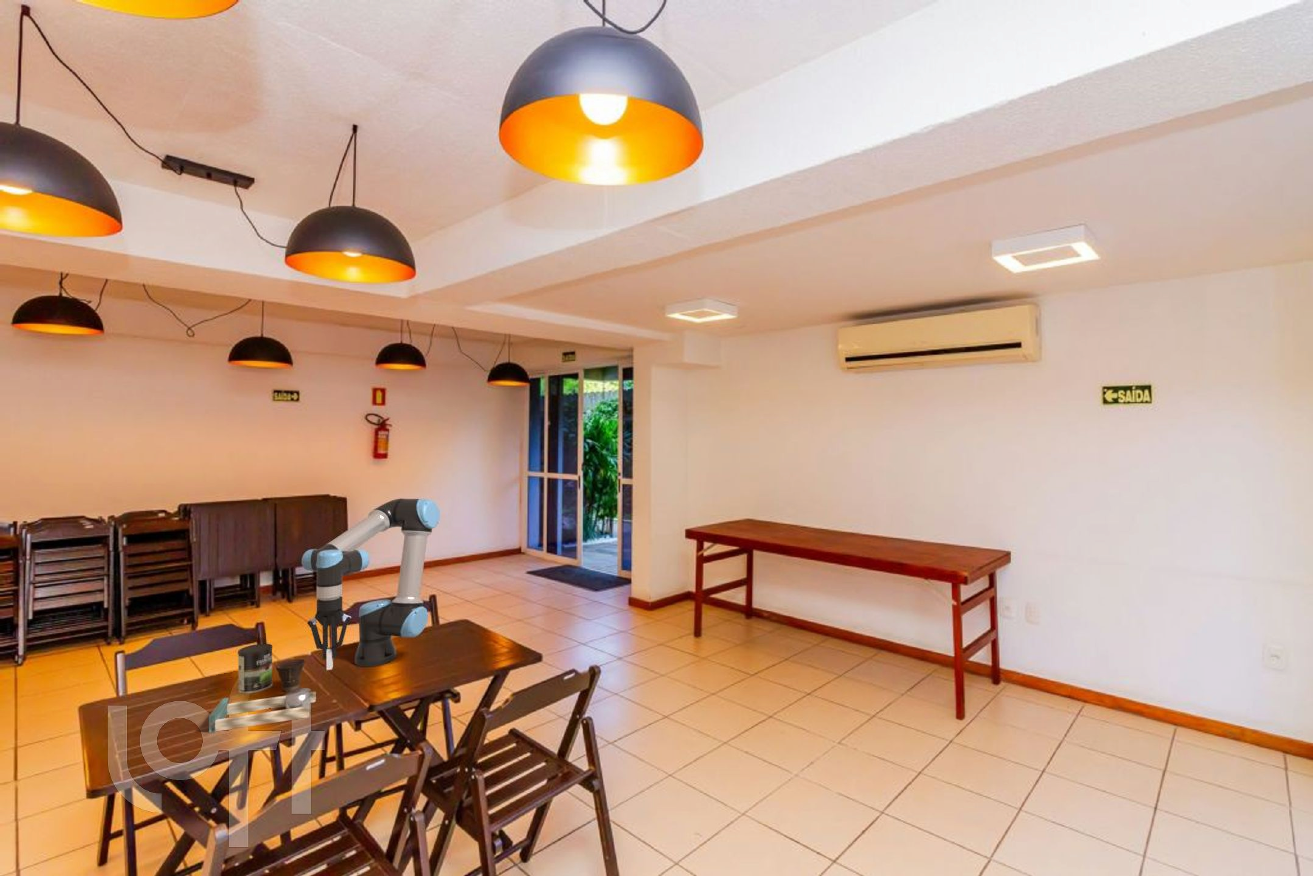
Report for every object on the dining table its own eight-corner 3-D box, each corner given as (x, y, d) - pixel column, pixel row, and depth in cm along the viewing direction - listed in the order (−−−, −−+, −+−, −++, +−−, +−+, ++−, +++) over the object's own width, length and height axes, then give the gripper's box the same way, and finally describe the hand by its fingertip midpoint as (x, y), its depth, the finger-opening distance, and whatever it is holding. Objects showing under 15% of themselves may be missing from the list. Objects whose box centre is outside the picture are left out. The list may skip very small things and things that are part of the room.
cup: (265, 691, 209) (269, 662, 210) (289, 685, 217) (293, 656, 218) (283, 696, 206) (288, 666, 207) (307, 689, 214) (310, 660, 215)
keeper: (312, 704, 201) (312, 686, 201) (308, 713, 194) (308, 695, 194) (288, 708, 198) (288, 690, 198) (283, 717, 192) (283, 698, 191)
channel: (315, 700, 204) (315, 685, 204) (308, 717, 191) (308, 701, 191) (223, 713, 194) (222, 698, 194) (209, 732, 182) (209, 716, 182)
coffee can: (279, 682, 218) (279, 644, 218) (255, 695, 208) (255, 654, 208) (256, 680, 220) (255, 642, 220) (230, 692, 210) (230, 652, 210)
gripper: (352, 592, 205) (352, 661, 205) (309, 596, 200) (309, 667, 200) (350, 598, 198) (350, 669, 198) (305, 602, 193) (305, 675, 193)
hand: (329, 668), depth 199 cm, fingers closed
